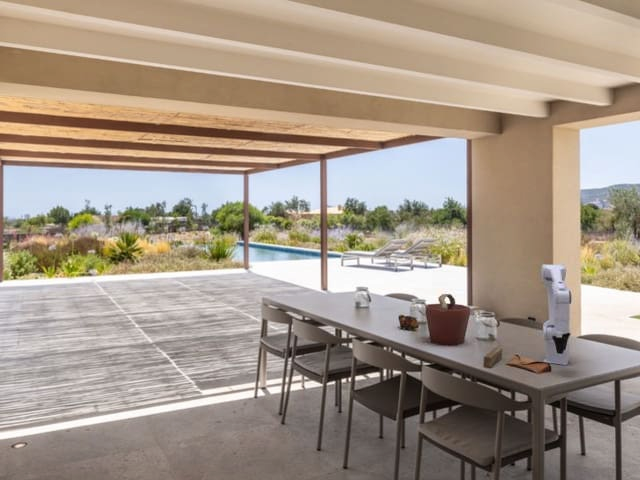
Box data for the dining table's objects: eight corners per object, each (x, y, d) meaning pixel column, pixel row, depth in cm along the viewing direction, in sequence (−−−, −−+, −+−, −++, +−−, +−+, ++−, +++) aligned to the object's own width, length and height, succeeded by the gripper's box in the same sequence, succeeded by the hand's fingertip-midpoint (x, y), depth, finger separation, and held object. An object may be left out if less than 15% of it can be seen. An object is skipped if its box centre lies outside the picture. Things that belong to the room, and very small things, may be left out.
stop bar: (501, 357, 238) (501, 348, 238) (490, 368, 221) (490, 357, 221) (495, 356, 239) (495, 347, 239) (483, 367, 223) (483, 356, 222)
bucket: (453, 349, 253) (453, 298, 252) (414, 342, 268) (414, 294, 267) (475, 341, 271) (476, 294, 270) (438, 335, 286) (438, 290, 285)
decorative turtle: (402, 326, 311) (404, 313, 311) (423, 331, 300) (424, 318, 299) (392, 327, 305) (393, 314, 304) (412, 333, 293) (413, 319, 293)
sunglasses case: (503, 364, 227) (508, 350, 229) (511, 370, 230) (516, 356, 232) (539, 374, 212) (544, 359, 213) (548, 380, 215) (553, 365, 217)
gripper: (554, 315, 223) (553, 346, 224) (548, 320, 211) (547, 353, 212) (572, 317, 220) (571, 349, 220) (567, 322, 207) (566, 356, 208)
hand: (561, 351), depth 215 cm, fingers open, 7 cm apart
